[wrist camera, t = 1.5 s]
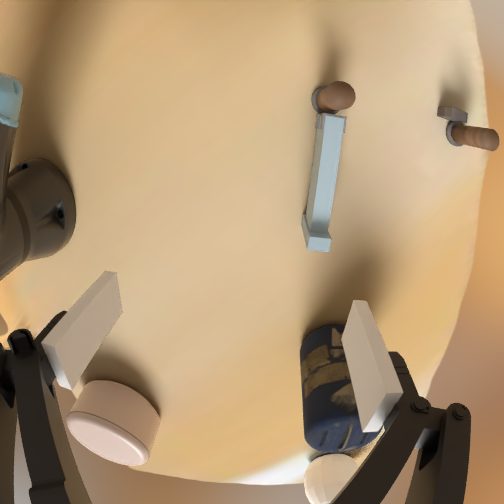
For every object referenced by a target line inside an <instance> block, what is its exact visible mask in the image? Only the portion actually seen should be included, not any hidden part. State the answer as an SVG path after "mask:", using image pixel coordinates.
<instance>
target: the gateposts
mask: <svg viewBox="0 0 504 504" xmlns="http://www.w3.org/2000/svg"><path fill="white" fill-rule="evenodd" d="M354 101H355V92H354V89H353V88H352V87H351V86H350V85H349V84H348V83H346V82H343V81H337V82H334V83H332V84H331V85H329V86H323V87H320V88H318V89H317V90H316V91H315V92H314V93H313V95H312V105H313V107H314V109H315V110H316V111H317V112H318V113H320V114H322V113H327V114H335V113H337V112H338V111H339V110H342V109H347V108H349V107H351V106H352V105H353V103H354ZM467 115H468V113H466V112H464V111H461V110H459V109H456V108H453V107H438V114H437V116H439V117H442V118H445V119H447V120H450V121H453V122H450V123H449V124H448V126H447V128H446V136H447V139H448V141H449V142H450V143H451V144H452V145H455V146H462V145H463V144H464V145H469V146H473V147H477V148H482V149H486V150H490V151H495V150H496V149H497V148H498V146H499V136H498V134H497V132H496V131H495V130H493V129H488V128H481V127H473V126H465V125H463V124H462V123H460V122H466V123H467Z"/></svg>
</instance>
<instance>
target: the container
mask: <svg viewBox="0 0 504 504" xmlns="http://www.w3.org/2000/svg"><path fill="white" fill-rule="evenodd" d="M159 425H160V418H159V415H158V414H157V412H156V411H155V409H154V408H153V407H152V405H151V404H150V403H149V402H148V400H146V399H145V398H144V397H143V396H142V395H141V394H139V393H138V392H136V391H135V390H133V389H131V388H129V387H127V386H125V385H123V384H120V383H117V382H113V381H106V380H105V381H101V380H95V381H91V382H89V383H87V384H86V385H85V387H84V389H83V390H82V392H81V394H80V396H79V397H78V399H77V401H76V402H75V404H74V406H73V408H72V409H71V411H70V413H69V414H68V416H67V426H68V428H69V430H70V432H71V433H72V435H73V436H74V437H75V438H76V439H77V440H78V441H79V442H80V443H81V444H82V445H84V446H85V447H86V448H88V449H89V450H91V451H92V452H94V453H96V454H97V455H99V456H101V457H103V458H106V459H108V460H110V461H113V462H116V463H119V464H124V465H132V466H135V465H141V464H143V463H145V462H146V461H147V460H148V459H149V455H150V452H151V449H152V446H153V443H154V440H155V437H156V434H157V431H158V428H159Z"/></svg>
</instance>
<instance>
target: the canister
mask: <svg viewBox="0 0 504 504" xmlns="http://www.w3.org/2000/svg"><path fill="white" fill-rule="evenodd" d="M344 329H345V326H343V325H328V326H324V327H321V328H319V329H317V330H315V331H313V332H312V333H310V334H309V335H308V336H307V337H306V338H305V340H304V341H303V343H302V345H301V349H300V366H301V385H302V398H303V420H304V436H305V440H306V442H307V443H308V444H309V445H310V446H311V447H312V448H314V449H316V450H319V451H323V452H331V453H338V452H346V451H351V450H354V449H357V448H360V447H362V446H364V445H366V444H368V443H370V442H371V441H372V440H374V439H375V438H376V437H377V436H378V434H379V433H380V432H381V430H382V427H383V425H382V426H381V428H380V429H379V431H376V432H362V427H361V422H360V417H359V413H358V408H357V403H356V399H355V394H354V390H353V385H352V381H351V377H350V372H349V368H348V364H347V360H346V356H345V352H344V348H343V344H342V340H341V338H342V335H343V332H344Z"/></svg>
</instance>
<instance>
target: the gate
mask: <svg viewBox="0 0 504 504" xmlns="http://www.w3.org/2000/svg"><path fill="white" fill-rule="evenodd" d="M345 125H346V117H345V116H339V115H333V114H327V113H322V114H317V119H316V129H317V133H316V142H315V150H314V158H313V166H312V174H311V181H310V189H309V196H308V203H307V210H306V214H303V218H302V229H303V233H304V238H305V242H306V246H307V250H313V251H322V252H329V250H330V245H331V240H332V239H331V236H330V234H329V232H328V227H329V221H330V216H331V210H332V204H333V198H334V191H335V185H336V178H337V172H338V165H339V158H340V150H341V143H342V135H343V133H345Z"/></svg>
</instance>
